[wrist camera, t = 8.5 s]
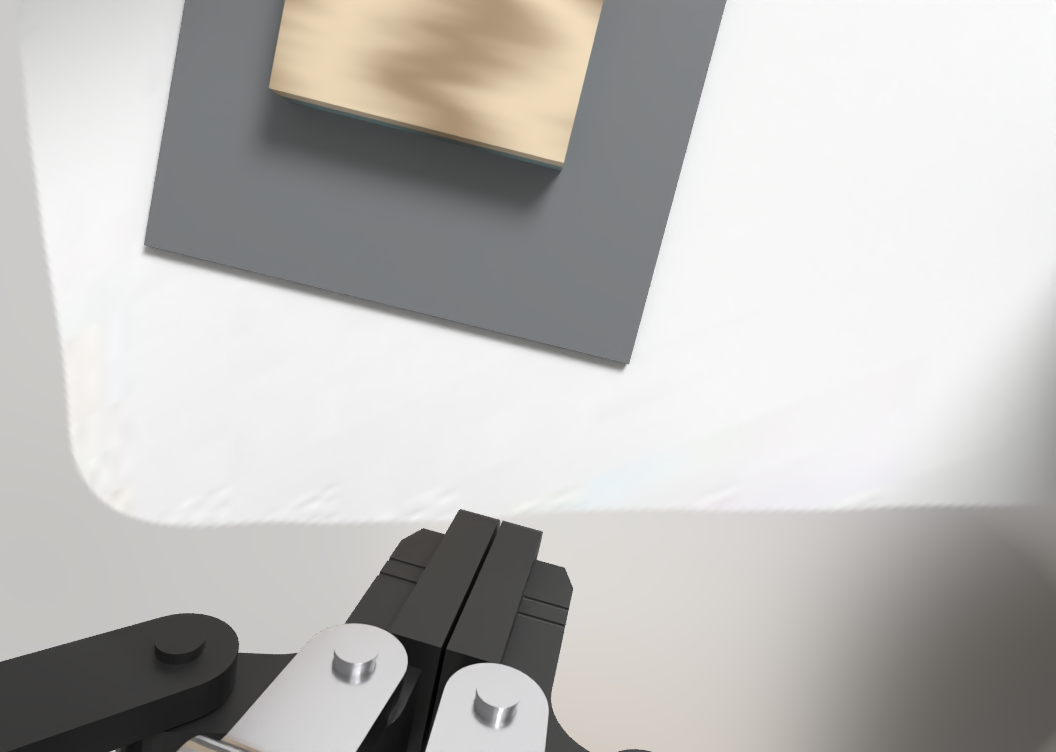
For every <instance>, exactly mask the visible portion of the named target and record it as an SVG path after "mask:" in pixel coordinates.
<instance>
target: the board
mask: <svg viewBox="0 0 1056 752" xmlns="http://www.w3.org/2000/svg"><path fill="white" fill-rule="evenodd" d="M603 1H604V0H285V3H284V9H283V14H282V19H281V25H280V30H279V36H278V41H277V46H276V52H275V57H274V62H273V68H272V73H271V78H270V84H269V89H271V90H272V91H274V92H275V93H277V94H278V95H279V96H281V97H282V98H284V99H285V100H287V101H288V102H291V103H295V104H299V105H303V106H307V107H310V108H314V109H318V110H322V111H326V112H330V113H334V114H338V115H342V116H346V117H350V118H354V119H358V120H362V121H366V122H370V123H374V124H378V125H382V126H385V127H389V128H393V129H397V130H401V131H405V132H409V133H413V134H417V135H421V136H425V137H429V138H433V139H437V140H441V141H445V142H449V143H453V144H456V145H460V146H464V147H468V148H472V149H476V150H480V151H484V152H488V153H492V154H496V155H500V156H504V157H508V158H512V159H516V160H520V161H524V162H528V163H531V164H535V165H539V166H543V167H547V168H551V169H555V170H559V171H561V170H562V167H563V164H564V160H565V156H566V152H567V148H568V144H569V139H570V135H571V131H572V127H573V123H574V119H575V115H576V111H577V107H578V103H579V99H580V95H581V91H582V87H583V82H584V78H585V74H586V70H587V66H588V62H589V58H590V54H591V50H592V46H593V42H594V38H595V34H596V30H597V25H598V21H599V17H600V13H601V9H602V5H603Z"/></svg>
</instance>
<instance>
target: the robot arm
mask: <svg viewBox="0 0 1056 752" xmlns="http://www.w3.org/2000/svg"><path fill="white" fill-rule="evenodd" d="M499 527H500V528H499ZM542 533H543V532H542V531H539V530H534V529H531V528H527V527H524V526H520V525H517V524H513V523H509V522H506V521H503V522H502V523H501V526H500V520H498V519H495V518H491V517H487V516H484V515H480V514H476V513H473V512H469V511H466V510H462V509H460V510H459V511H458V513H457V515H456V516H455V518H454V520H453V522H452V523H451V525H450V527H449V529H448V530H447V532H446V534H442V533H438V532H434V531H430V530H427V529H424V528H423V529H421V530H420V531H418V532H416V533H414V534H412V535H410V536H408V537H407V538H405V539H403V540H401V542H400V543H399V545H398V546H397V548H396V549H395V551H394V552H393V554H392V555H391V557H390V559H389V561H387V562H386V564H385V565H384V567H383V568H382V570H381V571H380V574H379V576H377V577H376V579H375V580H374V582H373V583H372V584H371V586H370V588H369V589H368V590H367V592H366V593H365V595H364V596H363V598H362V599H361V600H360V602H359V603H358V605H357V606H356V608H355V610H354V611H353V612H352V614H351V615H350V617H349V618H348V620H347V621H346V623H345V624H341V625H336V626H333V627H330V628H327V629H325V630H323V631H320V632H319V633H317V634H316V635H314V636H313V637H312V638H311V639H310V640H309V641H308V642H307V643H306V645H304V647H303V648H302V649H301V650H300V651H299V652H298V653H294V654H254V653H238V649H239V642H238V637H237V635H236V633H235V631H234V630H233V629H232V628H231V627H230V626H229V625H228V624H226V623H225V622H223V621H221V620H219V619H217V618H214V617H212V616H208V615H203V614H194V613H192V614H190V613H187V614H186V613H185V614H174V615H169V616H165V617H160V618H157V619H153V620H150V621H146V622H142V623H139V624H135V625H132V626H128V627H124V628H121V629H117V630H114V631H110V632H107V633H103V634H100V635H96V636H92V637H89V638H85V639H81V640H78V641H74V642H71V643H67V644H63V645H60V646H56V647H53V648H49V649H45V650H42V651H38V652H35V653H31V654H27V655H24V656H20V657H16V658H13V659H9V660H5V661H2V662H0V752H110V751H113V750H115V749H116V752H589V751H588V750H586V749H585V748H583V747H582V746H580V745H579V744H577V743H576V742H575V741H574V740H573V739H572V738H571V737H569V736H568V734H567V733H566V732H565V731H564V730H563V729H562V727H561V726H560V724H559V723H558V721H557V719H556V717H555V715H554V712H553V709H552V706H551V691H552V686H553V682H554V676H555V672H556V667H557V663H558V658H559V653H560V648H561V643H562V639H563V634H564V628H565V625H566V620H567V615H568V610H569V605H570V600H571V596H572V591H573V587H572V585H571V583H570V580H569V577H568V575H567V572H566V570H565V568H563V567H559V566H556V565H553V564H549V563H545V562H542V561H538V560H537V555H538V551H539V547H540V543H541V538H542ZM619 752H650V751H646V750H637V749H634V750H633V749H632V750H623V751H619Z"/></svg>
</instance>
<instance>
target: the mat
mask: <svg viewBox="0 0 1056 752" xmlns="http://www.w3.org/2000/svg"><path fill="white" fill-rule="evenodd" d="M284 3H285V0H185V5H184V11H183V17H182V23H181V29H180V35H179V41H178V47H177V53H176V59H175V65H174V71H173V77H172V82H171V88H170V94H169V100H168V106H167V112H166V118H165V124H164V130H163V136H162V142H161V148H160V154H159V160H158V165H157V171H156V177H155V183H154V189H153V195H152V201H151V207H150V213H149V219H148V225H147V231H146V237H145V243H144V245H146V246H150V247H154V248H158V249H162V250H166V251H171V252H175V253H179V254H183V255H187V256H191V257H195V258H199V259H203V260H207V261H211V262H215V263H219V264H223V265H228V266H232V267H236V268H240V269H244V270H248V271H252V272H256V273H260V274H264V275H268V276H272V277H276V278H280V279H284V280H289V281H293V282H297V283H301V284H305V285H309V286H313V287H317V288H321V289H325V290H329V291H333V292H337V293H341V294H345V295H350V296H354V297H358V298H362V299H366V300H370V301H374V302H378V303H382V304H386V305H390V306H394V307H398V308H402V309H406V310H411V311H415V312H419V313H423V314H427V315H431V316H435V317H439V318H443V319H447V320H451V321H455V322H459V323H463V324H467V325H472V326H476V327H480V328H484V329H488V330H492V331H496V332H500V333H504V334H508V335H512V336H516V337H520V338H524V339H529V340H533V341H537V342H541V343H545V344H549V345H553V346H557V347H561V348H565V349H569V350H573V351H577V352H581V353H585V354H590V355H594V356H598V357H602V358H606V359H610V360H614V361H618V362H622V363H626V364H629V362H630V358H631V354H632V351H633V347H634V343H635V339H636V336H637V332H638V328H639V324H640V321H641V317H642V313H643V310H644V306H645V302H646V298H647V295H648V291H649V287H650V283H651V280H652V276H653V272H654V268H655V265H656V261H657V257H658V254H659V250H660V246H661V242H662V239H663V235H664V231H665V227H666V224H667V220H668V216H669V213H670V209H671V205H672V201H673V198H674V194H675V190H676V186H677V183H678V179H679V175H680V171H681V168H682V164H683V160H684V157H685V153H686V149H687V145H688V142H689V138H690V134H691V130H692V127H693V123H694V119H695V116H696V112H697V108H698V104H699V101H700V97H701V93H702V89H703V86H704V82H705V78H706V75H707V71H708V67H709V63H710V60H711V56H712V52H713V48H714V45H715V41H716V37H717V33H718V30H719V26H720V22H721V19H722V15H723V11H724V7H725V4H726V0H604V1H603V5H602V9H601V13H600V17H599V21H598V25H597V30H596V34H595V38H594V42H593V46H592V50H591V54H590V58H589V62H588V66H587V70H586V74H585V78H584V82H583V87H582V91H581V95H580V99H579V103H578V107H577V111H576V115H575V119H574V123H573V127H572V131H571V135H570V139H569V144H568V148H567V152H566V156H565V160H564V164H563V167H562V170H561V171H559V170H555V169H551V168H547V167H543V166H539V165H535V164H531V163H528V162H524V161H520V160H516V159H512V158H508V157H504V156H500V155H496V154H492V153H488V152H484V151H480V150H476V149H472V148H468V147H464V146H460V145H456V144H453V143H449V142H445V141H441V140H437V139H433V138H429V137H425V136H421V135H417V134H413V133H409V132H405V131H401V130H397V129H393V128H389V127H385V126H382V125H378V124H374V123H370V122H366V121H362V120H358V119H354V118H350V117H346V116H342V115H338V114H334V113H330V112H326V111H322V110H318V109H314V108H310V107H307V106H303V105H299V104H295V103H291V102H288V101H287V100H285V99H284V98H282V97H281V96H279V95H278V94H277V93H275V92H274V91H272V90H271V89H269V84H270V78H271V73H272V68H273V62H274V57H275V52H276V46H277V41H278V36H279V30H280V25H281V19H282V14H283V9H284Z"/></svg>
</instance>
